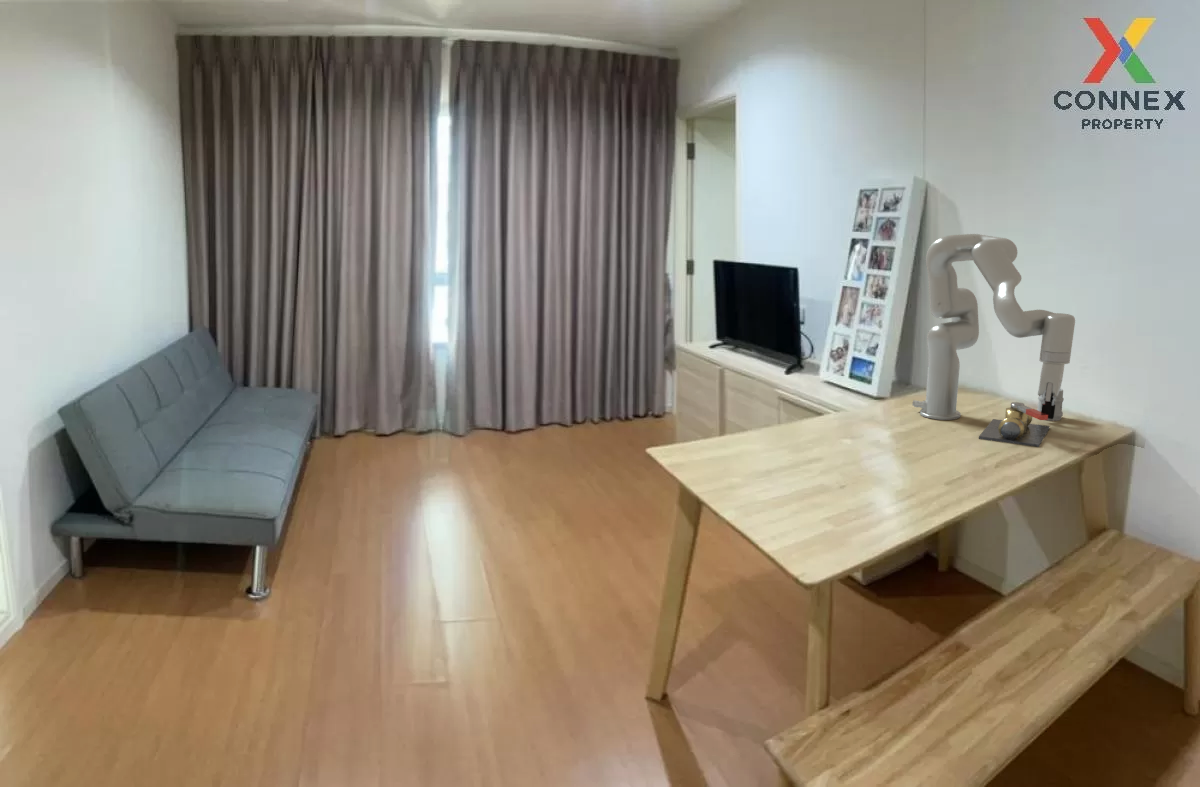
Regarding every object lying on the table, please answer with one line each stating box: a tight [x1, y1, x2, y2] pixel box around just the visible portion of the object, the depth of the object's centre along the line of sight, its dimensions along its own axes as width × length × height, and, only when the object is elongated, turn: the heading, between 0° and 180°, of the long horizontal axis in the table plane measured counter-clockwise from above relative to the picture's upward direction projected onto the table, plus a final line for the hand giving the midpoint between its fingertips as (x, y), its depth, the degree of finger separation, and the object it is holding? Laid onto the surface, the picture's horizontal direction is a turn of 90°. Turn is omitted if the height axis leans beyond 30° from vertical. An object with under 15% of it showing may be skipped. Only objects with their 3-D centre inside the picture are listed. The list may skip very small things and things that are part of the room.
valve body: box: [978, 406, 1050, 448], centre depth 228 cm, size 16×22×8 cm
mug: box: [1036, 387, 1064, 422], centre depth 241 cm, size 8×12×12 cm, turn 136°
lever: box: [1010, 401, 1048, 421], centre depth 222 cm, size 15×4×2 cm, turn 3°
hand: (1047, 417), depth 218 cm, fingers closed
